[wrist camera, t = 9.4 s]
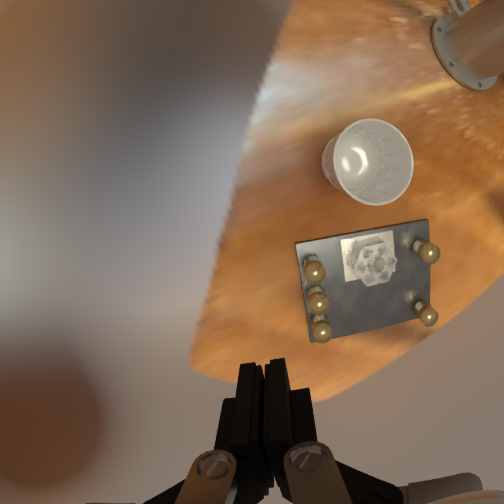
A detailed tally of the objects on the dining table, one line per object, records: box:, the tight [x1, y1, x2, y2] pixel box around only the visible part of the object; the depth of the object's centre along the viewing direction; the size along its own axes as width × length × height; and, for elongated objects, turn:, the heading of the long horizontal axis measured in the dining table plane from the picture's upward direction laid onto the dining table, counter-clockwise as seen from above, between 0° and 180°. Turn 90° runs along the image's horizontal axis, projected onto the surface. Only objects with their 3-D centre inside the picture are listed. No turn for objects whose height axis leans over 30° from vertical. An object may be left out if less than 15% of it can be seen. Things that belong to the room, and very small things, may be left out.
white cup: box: [321, 118, 414, 206], centre depth 29 cm, size 8×8×10 cm
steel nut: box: [348, 238, 397, 287], centre depth 35 cm, size 5×6×2 cm
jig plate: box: [295, 219, 440, 343], centre depth 36 cm, size 14×18×4 cm
